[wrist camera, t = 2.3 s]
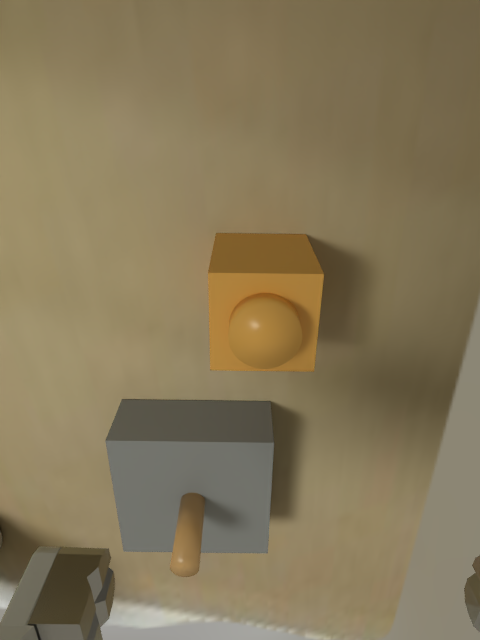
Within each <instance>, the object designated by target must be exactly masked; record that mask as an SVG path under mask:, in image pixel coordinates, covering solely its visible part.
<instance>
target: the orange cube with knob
mask: <svg viewBox="0 0 480 640" xmlns="http://www.w3.org/2000/svg"><path fill="white" fill-rule="evenodd" d="M323 279H324V273H323V271H322V269H321V266H320V264H319V262H318V260H317V258H316V255H315V253H314V251H313V249H312V247H311V244H310V242H309V240H308V238H307V236H306V234H241V233H216V236H215V241H214V246H213V251H212V256H211V261H210V266H209V271H208V286H209V329H210V370H232V371H311V372H314V367H315V358H316V348H317V338H318V328H319V318H320V309H321V299H322V289H323Z"/></svg>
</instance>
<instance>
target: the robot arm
mask: <svg viewBox="0 0 480 640" xmlns="http://www.w3.org/2000/svg"><path fill="white" fill-rule="evenodd" d="M110 560H111V556H110V552H109V549H107V548H78V547H53V546H39V547H38V549H37V550H36V551H35V552H34V553H33V555H32V557H31V559H30V561H29V563H28V565H27V568H26V570H25V572H24V574H23V576H22V578H21V580H20V582H19V584H18V587H17V589H16V591H15V593H14V595H13V597H12V599H11V601H10V603H9V605H8V608H7V610H6V612H5V614H4V616H3V618H2V621H1V622H0V640H103V639H102V635H101V630H100V627H101V626H102V625H103V624H104V623H105V622H106V621H107V620H108V619H109V616H110V612H111V608H112V604H113V597H114V590H115V578H114V572H113V571H112V570H111V569H110V568H109V563H110ZM472 566H473V568H474V570H475V572H476V573H475V574H473V575H472V576H471V577H469V578H468V579H467V582H466V585H465V588H464V592H465V603H466V607H467V611H468V614H469V617H470V619H471V621H472V624H473V626H474V627H475V628H476V629H477V630H478V631H479V632H480V556H478V557H477V558H475V560H474V563H473V565H472Z"/></svg>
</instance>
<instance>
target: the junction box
mask: <svg viewBox="0 0 480 640" xmlns="http://www.w3.org/2000/svg"><path fill="white" fill-rule="evenodd" d="M106 447H107V453H108V459H109V465H110V471H111V477H112V483H113V489H114V495H115V502H116V508H117V514H118V520H119V526H120V532H121V538H122V544H123V550H124V551H127V552H172V558H171V564H170V569H171V571H172V572H173V573H174V574H176V575H178V576H181V577H190V576H193V575H195V574H197V572H198V571H199V564H200V554H201V552H202V553H268V538H269V521H270V504H271V487H272V470H273V453H274V436H273V425H272V413H271V402H270V401H202V400H124V399H122V401H121V403H120V406H119V408H118V411H117V413H116V416H115V418H114V421H113V423H112V426H111V428H110V431H109V433H108V436H107V438H106Z"/></svg>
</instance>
